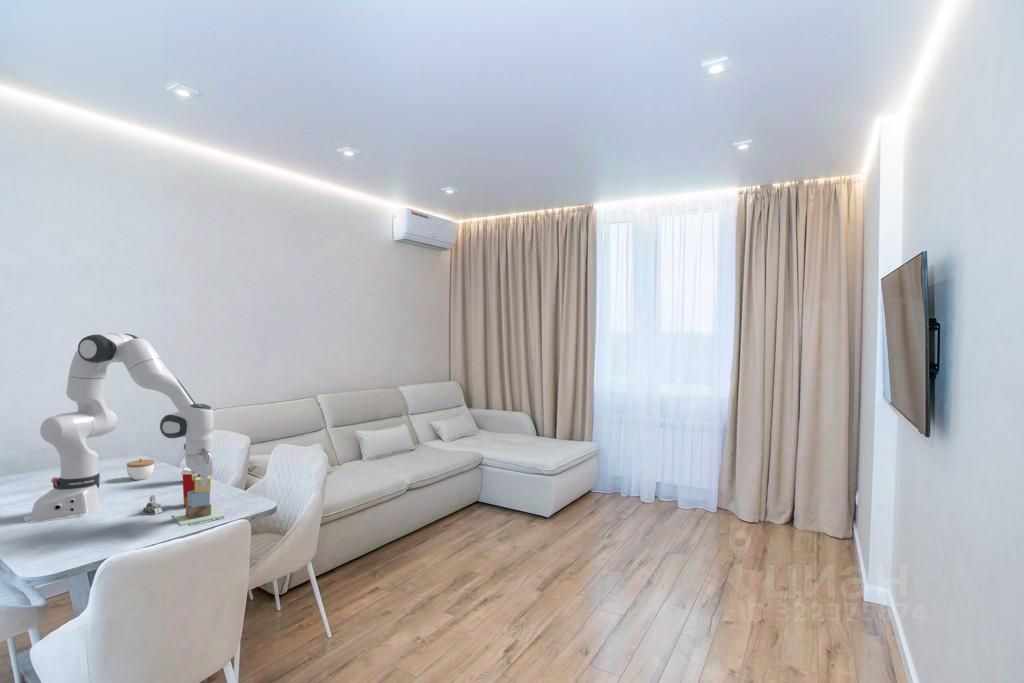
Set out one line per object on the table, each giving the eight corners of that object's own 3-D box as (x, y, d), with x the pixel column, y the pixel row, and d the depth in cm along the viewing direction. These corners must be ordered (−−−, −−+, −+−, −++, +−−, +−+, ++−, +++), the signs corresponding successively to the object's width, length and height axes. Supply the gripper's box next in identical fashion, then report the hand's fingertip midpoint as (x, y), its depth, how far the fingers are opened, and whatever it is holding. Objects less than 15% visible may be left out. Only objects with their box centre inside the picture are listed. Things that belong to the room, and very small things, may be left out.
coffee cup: (201, 500, 211) (202, 464, 211) (206, 505, 205) (207, 468, 205) (178, 504, 205) (178, 467, 205) (182, 509, 199) (183, 471, 199)
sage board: (180, 527, 181) (181, 524, 181) (172, 517, 191) (172, 514, 191) (224, 518, 191) (224, 515, 191) (213, 509, 201) (213, 506, 201)
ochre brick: (194, 493, 189) (195, 480, 189) (194, 490, 192) (194, 477, 192) (210, 491, 191) (210, 478, 191) (209, 488, 195) (210, 475, 195)
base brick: (189, 519, 186) (189, 508, 186) (185, 515, 191) (185, 504, 191) (210, 515, 191) (211, 504, 191) (206, 511, 196) (206, 500, 196)
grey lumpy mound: (178, 511, 199) (178, 491, 199) (157, 518, 190) (157, 498, 190) (161, 508, 201) (161, 489, 201) (139, 515, 193) (140, 495, 193)
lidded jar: (122, 478, 239) (123, 459, 239) (148, 474, 248) (149, 455, 248) (131, 482, 233) (131, 462, 233) (158, 477, 242) (158, 458, 242)
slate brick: (191, 508, 187) (191, 494, 187) (187, 504, 190) (187, 491, 190) (209, 504, 192) (209, 491, 192) (205, 501, 195) (205, 488, 195)
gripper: (218, 450, 186) (217, 487, 186) (200, 441, 200) (199, 476, 200) (198, 452, 182) (198, 491, 182) (182, 443, 195) (181, 479, 195)
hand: (198, 483), depth 191 cm, fingers open, 8 cm apart
